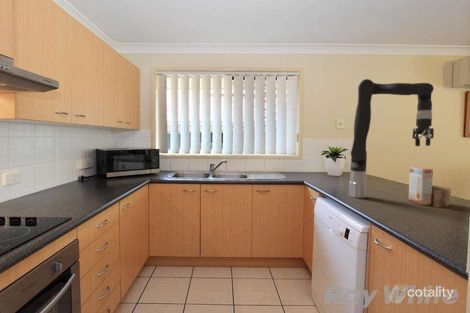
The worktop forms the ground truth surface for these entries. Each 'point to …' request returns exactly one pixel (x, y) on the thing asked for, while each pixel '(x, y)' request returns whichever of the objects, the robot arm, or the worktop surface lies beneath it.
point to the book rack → (440, 196)
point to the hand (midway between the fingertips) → (422, 145)
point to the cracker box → (420, 185)
